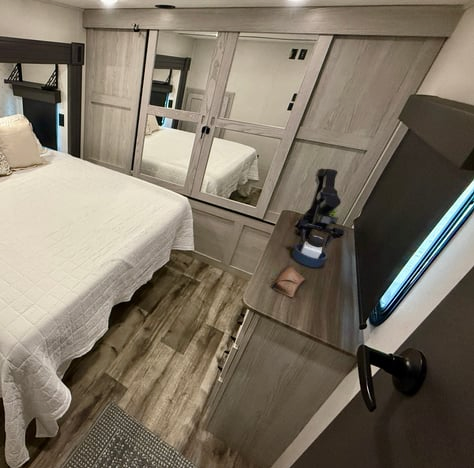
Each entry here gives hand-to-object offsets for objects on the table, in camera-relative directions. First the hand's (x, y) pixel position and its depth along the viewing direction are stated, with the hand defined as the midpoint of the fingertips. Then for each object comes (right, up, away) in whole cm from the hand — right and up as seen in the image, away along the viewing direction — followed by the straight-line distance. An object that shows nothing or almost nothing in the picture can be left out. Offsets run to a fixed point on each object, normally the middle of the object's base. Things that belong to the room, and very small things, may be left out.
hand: (314, 244), depth 131 cm
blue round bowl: (-1, -7, +4) cm, 8 cm away
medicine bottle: (-1, -7, +4) cm, 8 cm away
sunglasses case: (-20, -16, -13) cm, 29 cm away
